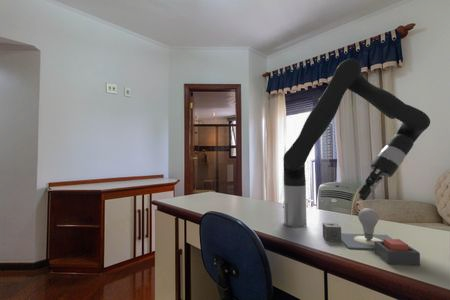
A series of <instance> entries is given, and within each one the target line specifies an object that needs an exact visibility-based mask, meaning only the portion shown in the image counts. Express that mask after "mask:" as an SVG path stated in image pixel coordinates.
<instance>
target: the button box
mask: <svg viewBox="0 0 450 300" xmlns="http://www.w3.org/2000/svg"><path fill="white" fill-rule="evenodd" d="M374 245H375V250H374V253H375V254H376V255H377V256H378V257H379V258H381V259H382V260H383V261H384V262H385V263H386V262H387V263H386V264H388V265H398V266H403V265H404V266H420V265H421V254H420V251H418V250H416V249H414V248H413V247H411V246H409V245H408V251H400V250H389V249H388V248H386V247H385V246H384V241H374Z"/></svg>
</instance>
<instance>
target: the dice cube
mask: <svg viewBox="0 0 450 300" xmlns="http://www.w3.org/2000/svg"><path fill="white" fill-rule="evenodd" d="M341 233H342V227H341V226H340V225H339V224H338V223H337V222H322V237H323V238H324V239H325V241H327V242H342V241H341Z"/></svg>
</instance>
